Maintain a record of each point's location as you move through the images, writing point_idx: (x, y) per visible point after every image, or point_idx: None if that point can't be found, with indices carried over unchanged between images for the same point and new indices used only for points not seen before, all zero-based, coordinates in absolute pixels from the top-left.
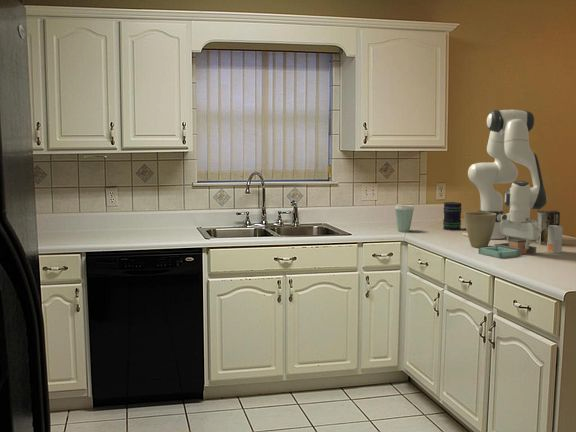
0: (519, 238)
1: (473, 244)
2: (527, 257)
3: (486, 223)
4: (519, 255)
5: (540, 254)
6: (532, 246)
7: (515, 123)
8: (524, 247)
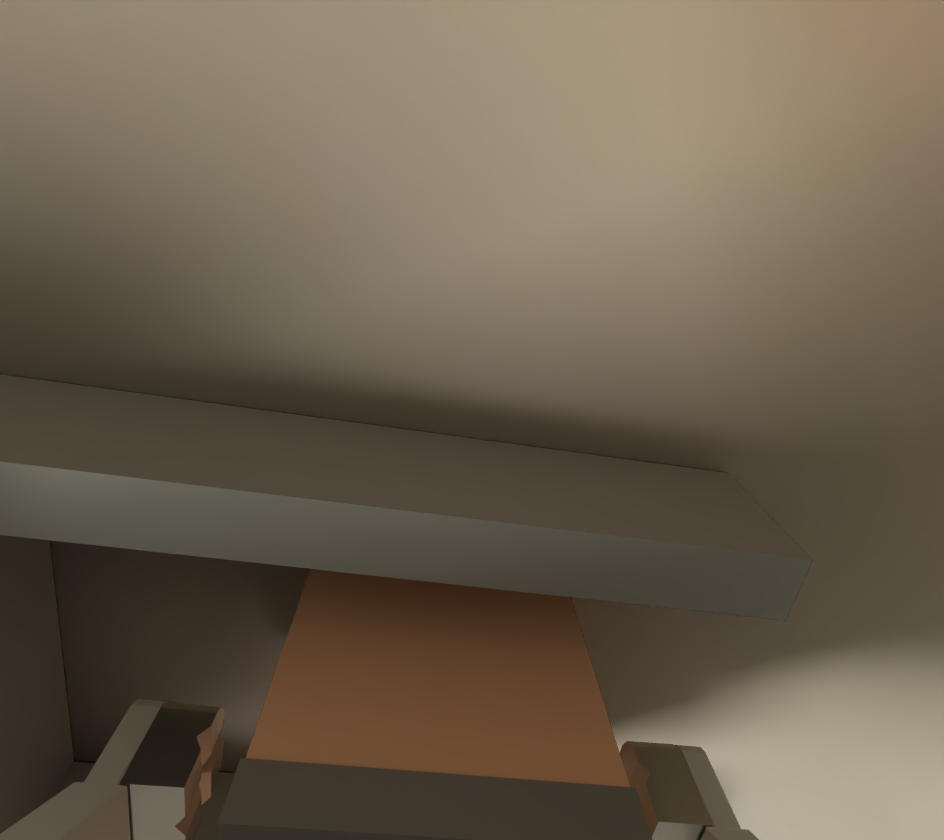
0: (243, 825)
1: None
2: (767, 832)
3: None
4: None
5: (830, 473)
6: (689, 565)
7: None
8: None
